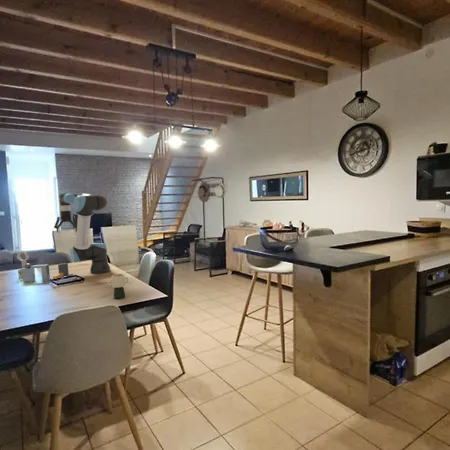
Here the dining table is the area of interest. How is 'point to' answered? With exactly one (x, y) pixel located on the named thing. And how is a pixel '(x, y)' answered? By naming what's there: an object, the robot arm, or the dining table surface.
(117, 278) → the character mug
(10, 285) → the dining table surface
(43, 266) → the housing
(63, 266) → the plug
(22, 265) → the engine component
